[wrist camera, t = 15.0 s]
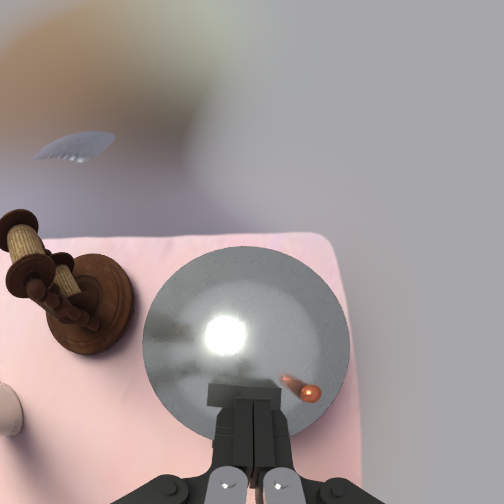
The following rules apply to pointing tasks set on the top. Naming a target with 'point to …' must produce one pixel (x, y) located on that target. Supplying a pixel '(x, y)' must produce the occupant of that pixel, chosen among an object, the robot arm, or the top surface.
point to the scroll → (67, 287)
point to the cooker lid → (245, 338)
